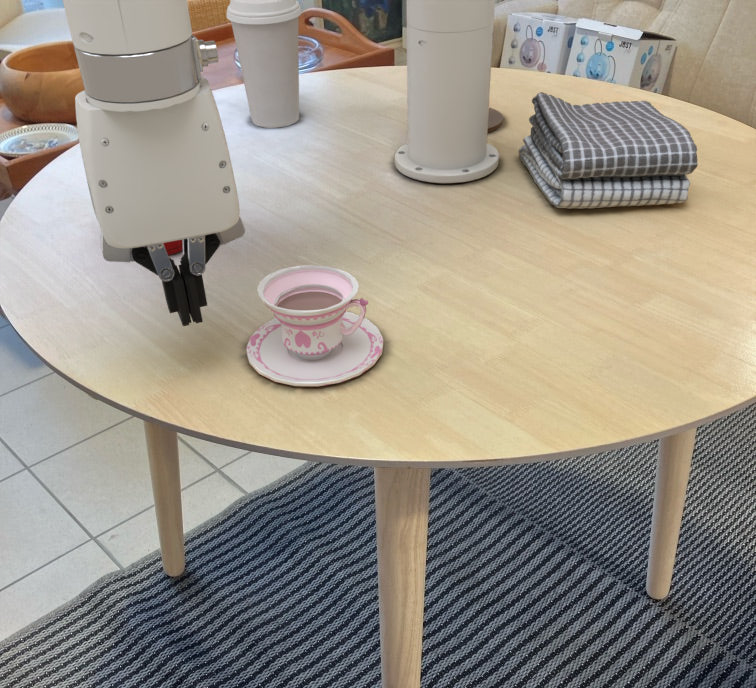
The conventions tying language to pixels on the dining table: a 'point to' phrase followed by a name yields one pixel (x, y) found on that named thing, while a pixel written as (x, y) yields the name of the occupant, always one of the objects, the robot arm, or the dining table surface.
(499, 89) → the dining table surface
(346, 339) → the teacup
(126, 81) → the robot arm
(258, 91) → the coffee cup
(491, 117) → the coaster
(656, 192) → the towel
